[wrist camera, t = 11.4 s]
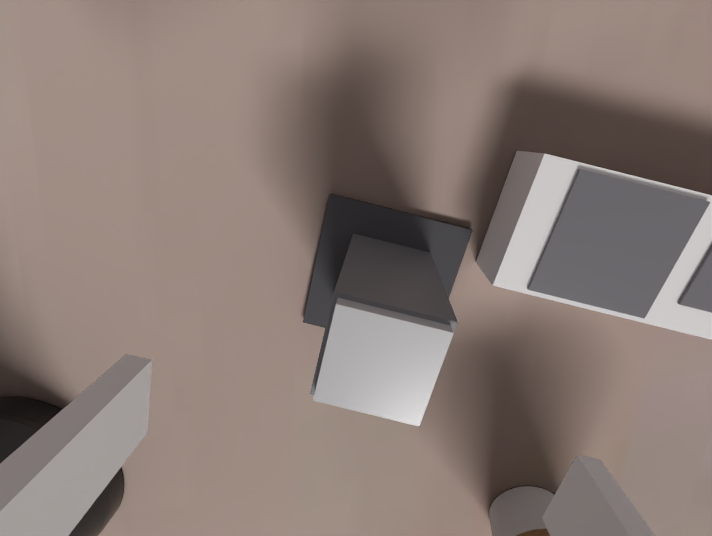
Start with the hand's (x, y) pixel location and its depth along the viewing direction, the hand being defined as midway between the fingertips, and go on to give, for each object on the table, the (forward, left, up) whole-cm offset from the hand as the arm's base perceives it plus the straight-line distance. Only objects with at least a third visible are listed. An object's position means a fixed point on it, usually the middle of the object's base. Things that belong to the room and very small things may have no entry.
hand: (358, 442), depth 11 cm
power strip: (+21, +6, -14) cm, 26 cm away
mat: (+1, 0, -14) cm, 14 cm away
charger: (+1, 0, -14) cm, 14 cm away
